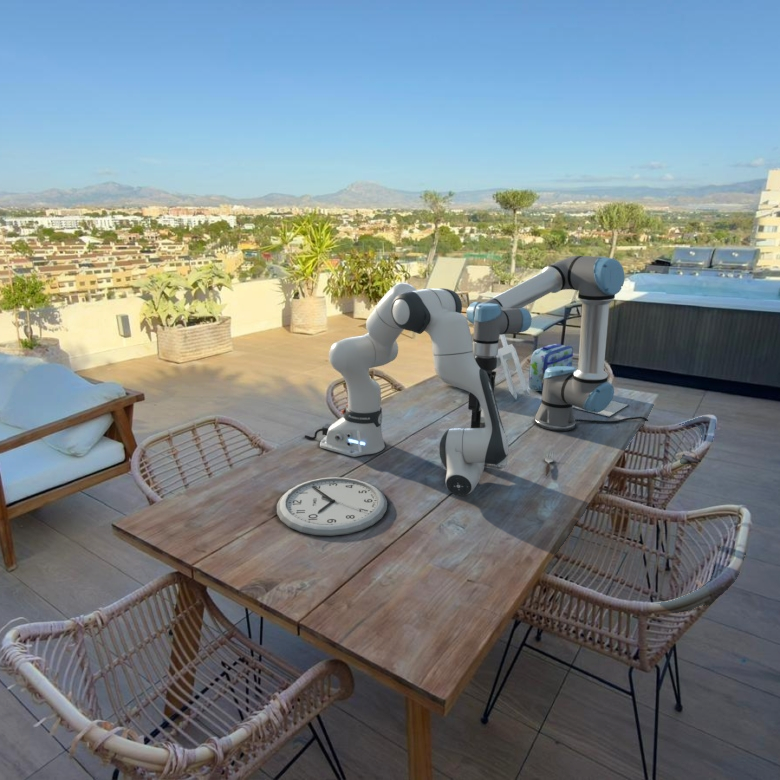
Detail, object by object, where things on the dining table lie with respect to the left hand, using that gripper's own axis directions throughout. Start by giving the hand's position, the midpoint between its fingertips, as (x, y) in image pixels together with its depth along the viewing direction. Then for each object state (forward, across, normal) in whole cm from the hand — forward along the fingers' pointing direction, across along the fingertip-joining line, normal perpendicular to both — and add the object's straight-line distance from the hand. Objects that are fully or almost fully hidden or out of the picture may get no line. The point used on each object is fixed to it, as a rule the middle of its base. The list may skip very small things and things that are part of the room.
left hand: (478, 445), depth 168 cm
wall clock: (-41, +32, +6) cm, 53 cm away
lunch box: (+96, -17, +6) cm, 98 cm away
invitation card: (+77, -40, +6) cm, 87 cm away
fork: (+6, -22, +6) cm, 23 cm away
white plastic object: (+77, +13, +6) cm, 78 cm away
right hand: (-1, 0, -7) cm, 7 cm away
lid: (-1, 0, -11) cm, 11 cm away
